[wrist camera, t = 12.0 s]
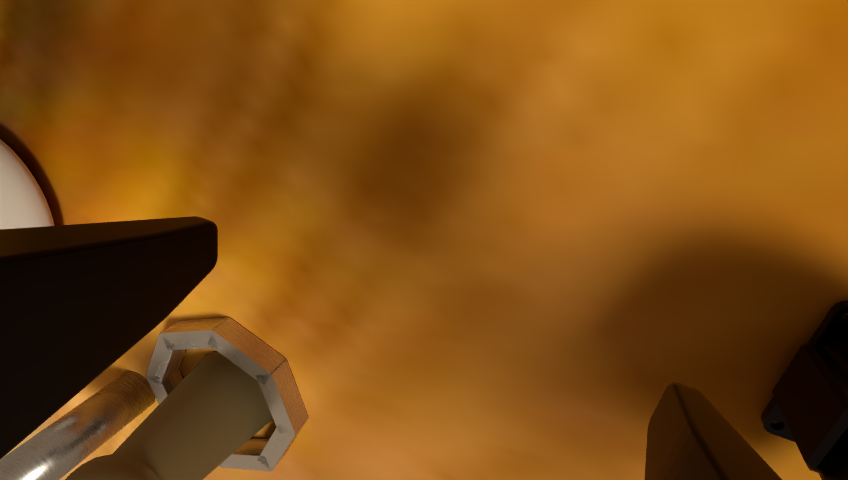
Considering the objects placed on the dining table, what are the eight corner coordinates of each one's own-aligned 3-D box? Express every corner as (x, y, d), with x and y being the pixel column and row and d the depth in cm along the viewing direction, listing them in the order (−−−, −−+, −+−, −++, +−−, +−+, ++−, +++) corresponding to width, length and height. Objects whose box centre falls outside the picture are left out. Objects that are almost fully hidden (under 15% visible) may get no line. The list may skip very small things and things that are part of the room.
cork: (268, 442, 33) (129, 609, 23) (194, 401, 34) (32, 546, 24) (281, 377, 30) (129, 537, 21) (200, 335, 31) (20, 469, 22)
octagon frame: (269, 314, 29) (141, 419, 21) (323, 456, 32) (229, 595, 24) (93, 327, 35) (-58, 412, 27) (152, 445, 38) (32, 553, 30)
